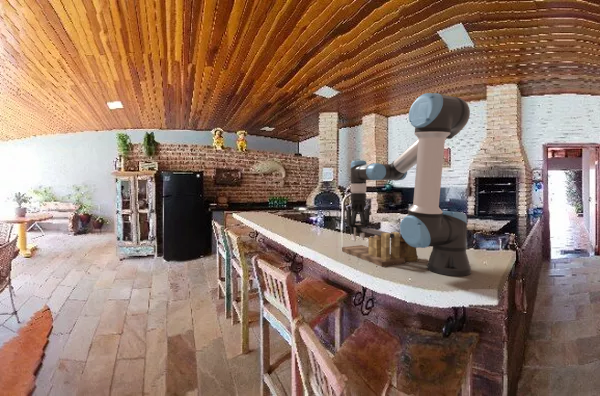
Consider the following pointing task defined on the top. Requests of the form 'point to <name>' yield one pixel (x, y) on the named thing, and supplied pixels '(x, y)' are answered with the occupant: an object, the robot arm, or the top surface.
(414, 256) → the wooden mug
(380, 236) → the walnut
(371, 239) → the nutcracker base
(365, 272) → the top surface
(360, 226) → the lever
